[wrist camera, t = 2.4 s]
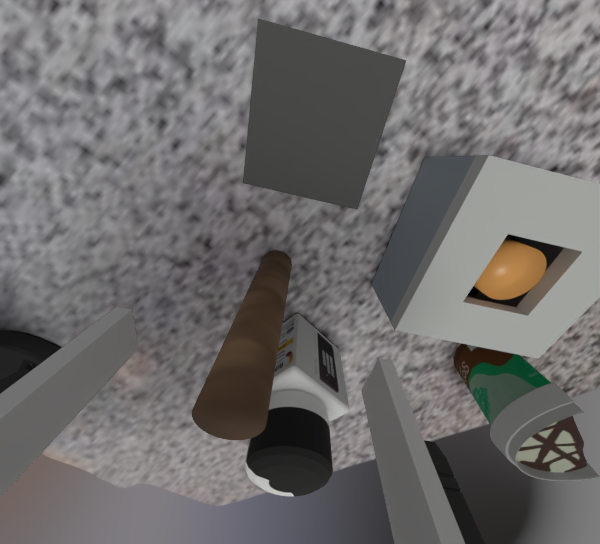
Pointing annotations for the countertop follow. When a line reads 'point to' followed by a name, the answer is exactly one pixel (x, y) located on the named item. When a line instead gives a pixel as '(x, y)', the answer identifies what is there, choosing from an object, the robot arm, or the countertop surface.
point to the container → (299, 414)
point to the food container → (525, 414)
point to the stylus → (247, 358)
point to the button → (512, 271)
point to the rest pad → (316, 114)
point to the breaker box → (490, 253)
